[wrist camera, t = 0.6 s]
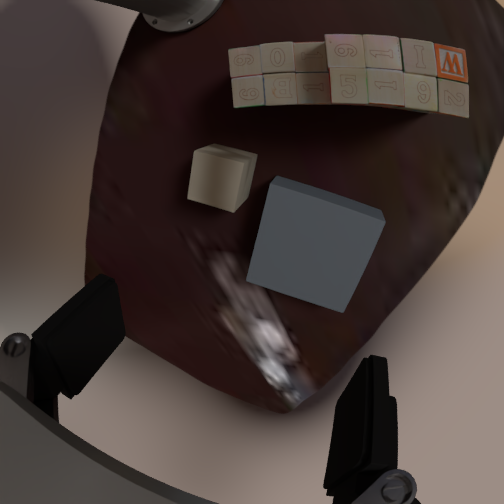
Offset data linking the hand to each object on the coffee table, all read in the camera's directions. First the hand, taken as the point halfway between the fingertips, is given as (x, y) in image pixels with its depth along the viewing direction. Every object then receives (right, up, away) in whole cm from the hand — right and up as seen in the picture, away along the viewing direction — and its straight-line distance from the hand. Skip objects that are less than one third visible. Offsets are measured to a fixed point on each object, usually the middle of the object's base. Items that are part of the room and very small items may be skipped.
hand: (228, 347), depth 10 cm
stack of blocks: (+11, +23, +19) cm, 32 cm away
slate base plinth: (+9, +5, +30) cm, 31 cm away
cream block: (-2, +14, +28) cm, 32 cm away
